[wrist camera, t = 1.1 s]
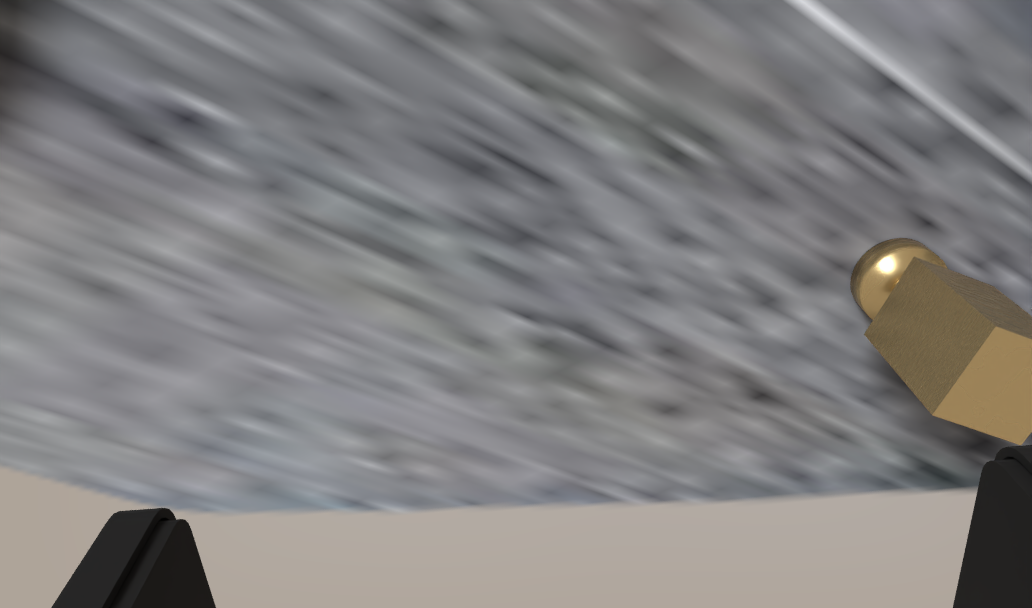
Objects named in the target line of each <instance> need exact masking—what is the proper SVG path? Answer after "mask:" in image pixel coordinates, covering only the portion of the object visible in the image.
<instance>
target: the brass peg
mask: <svg viewBox="0 0 1032 608" xmlns="http://www.w3.org/2000/svg"><path fill="white" fill-rule="evenodd" d="M850 285H851V292H852V295H853V298H854V299H855V301H856V302H857V303H858V305H859V306H860V307H861V308H862V309H863V310H864V311H865V313H866V314H867V315H868V316H869V317H870V318H871V319H872V320H873V321H872V323H871V324H870V326H869V328H868V329H867V331H866V332H865V334H864V335H865V336H866V337H867V338H868V339H869V341H870V342H871V343H872V344H873V345H874V347H875V348H876V349H877V350H878V351H879V353H880V354H881V355H882V356H883V357H884V358H885V360H886V361H887V362H888V363H889V364H890V366H891V367H892V368H893V369H894V370H895V372H896V373H897V374H898V375H899V376H900V378H901V379H902V380H903V381H904V382H905V383H906V385H907V386H908V387H909V388H910V389H911V391H912V392H913V393H914V394H915V395H916V397H917V398H918V399H919V400H920V401H921V402H922V404H923V405H924V406H925V407H926V408H927V410H928V411H929V412H930V413H931V414H932V415H933V416H936V417H939V418H942V419H945V420H948V421H951V422H954V423H957V424H960V425H963V426H965V427H968V428H971V429H974V430H977V431H980V432H983V433H986V434H989V435H992V436H995V437H998V438H1001V439H1004V440H1007V441H1010V442H1013V443H1015V444H1018V445H1022V443H1023V442H1024V441H1025V440H1026V438H1027V437H1028V436H1029V435H1030V433H1031V432H1032V316H1031V315H1029V314H1028V313H1027V312H1026V311H1024V310H1023V309H1022V308H1020V307H1019V306H1018V305H1017V304H1015V303H1014V302H1013V301H1011V300H1010V299H1009V298H1008V297H1006V296H1005V295H1004V294H1002V293H1001V292H1000V291H999V290H997V289H996V288H995V287H993V286H991V285H989V284H986V283H983V282H981V281H978V280H975V279H973V278H970V277H967V276H965V275H962V274H960V273H957V272H954V271H952V270H949V269H947V267H946V265H945V263H944V262H943V260H942V259H940V258H939V257H938V256H937V255H936V254H935V253H933V252H932V251H931V250H930V249H928V248H927V247H926V246H925V245H923V244H922V243H920V242H918V241H916V240H912V239H907V238H896V239H891V240H887V241H884V242H882V243H879V244H877V245H876V246H874V247H872V248H871V249H870V250H868V251H867V252H866V253H865V254H864V255H863V256H862V257H861V258H860V260H859V261H858V262H857V264H856V266H855V268H854V270H853V273H852V276H851V283H850Z"/></svg>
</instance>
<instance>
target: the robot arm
mask: <svg viewBox="0 0 1032 608" xmlns="http://www.w3.org/2000/svg"><path fill="white" fill-rule="evenodd" d="M52 608H216V607H215V604H214V601H213V598H212V594H211V591H210V588H209V585H208V581H207V578H206V575H205V572H204V569H203V566H202V563H201V559H200V556H199V553H198V550H197V547H196V543H195V540H194V537H193V534H192V531H191V528H190V526H189V524H188V522H187V521H186V520H183V519H179V520H176V518H175V516H174V514H173V513H172V512H171V511H170V510H169V509H166V508H157V509H144V510H130V511H119V512H117V513H114V514H113V515H112V516H111V518H110V519H109V520H108V521H107V523H106V524H105V526H104V527H103V529H102V530H101V532H100V533H99V535H98V537H97V538H96V540H95V541H94V543H93V544H92V546H91V548H90V549H89V550H88V552H87V554H86V555H85V557H84V558H83V560H82V561H81V563H80V565H79V566H78V567H77V569H76V570H75V572H74V574H73V575H72V577H71V578H70V580H69V581H68V583H67V584H66V586H65V588H64V589H63V591H62V592H61V594H60V595H59V597H58V598H57V600H56V601H55V603H54V604H53V606H52ZM953 608H1032V445H1026V446H1012V447H1005V448H1002V449H1001V450H1000V451H999V452H998V453H997V455H996V458H995V460H994V461H989V462H987V463H986V464H985V465H984V467H983V470H982V473H981V477H980V482H979V487H978V492H977V497H976V501H975V506H974V511H973V515H972V520H971V525H970V530H969V534H968V539H967V544H966V548H965V553H964V558H963V562H962V567H961V572H960V577H959V581H958V586H957V591H956V596H955V600H954V605H953Z"/></svg>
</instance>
